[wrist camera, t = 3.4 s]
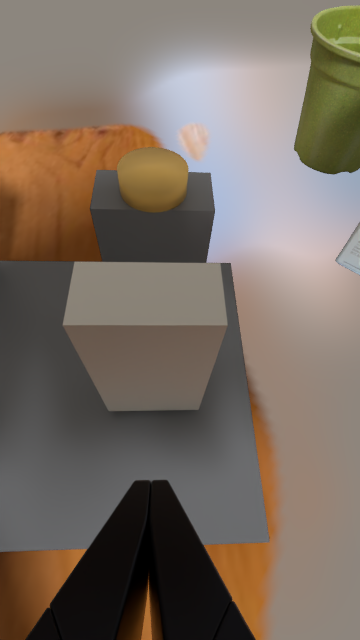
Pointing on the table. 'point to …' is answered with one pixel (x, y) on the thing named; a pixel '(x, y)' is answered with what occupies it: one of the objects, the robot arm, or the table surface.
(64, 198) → the table surface
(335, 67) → the plant pot
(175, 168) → the grey holder stand
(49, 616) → the robot arm
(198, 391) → the tall white block
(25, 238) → the table surface
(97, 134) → the table surface
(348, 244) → the supplement box
